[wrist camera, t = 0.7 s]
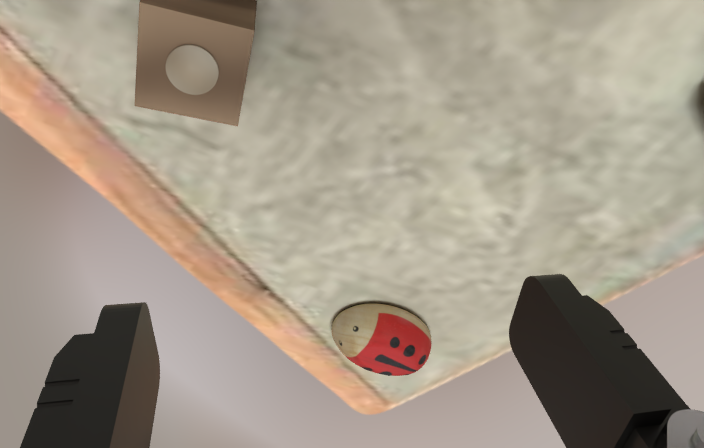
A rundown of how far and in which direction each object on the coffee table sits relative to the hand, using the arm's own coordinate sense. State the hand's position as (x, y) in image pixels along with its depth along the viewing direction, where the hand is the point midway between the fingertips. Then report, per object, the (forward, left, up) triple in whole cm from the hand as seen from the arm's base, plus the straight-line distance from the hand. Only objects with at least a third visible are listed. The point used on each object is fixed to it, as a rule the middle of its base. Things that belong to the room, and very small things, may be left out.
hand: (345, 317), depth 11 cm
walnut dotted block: (+5, -2, -22) cm, 23 cm away
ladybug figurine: (+8, +26, -23) cm, 36 cm away
